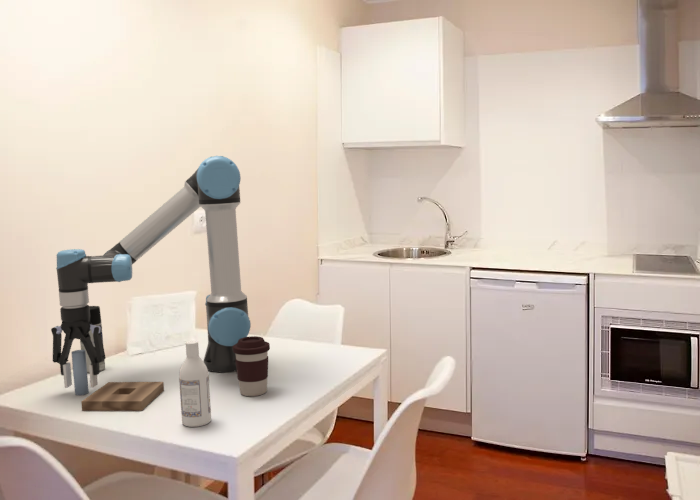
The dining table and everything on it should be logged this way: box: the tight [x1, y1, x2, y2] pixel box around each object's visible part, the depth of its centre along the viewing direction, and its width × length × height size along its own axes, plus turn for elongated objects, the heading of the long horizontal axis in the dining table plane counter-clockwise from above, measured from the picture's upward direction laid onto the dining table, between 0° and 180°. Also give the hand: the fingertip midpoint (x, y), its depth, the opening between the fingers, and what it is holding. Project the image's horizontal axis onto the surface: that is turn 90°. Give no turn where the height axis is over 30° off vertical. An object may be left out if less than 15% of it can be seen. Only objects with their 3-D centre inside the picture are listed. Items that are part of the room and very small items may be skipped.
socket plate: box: [80, 381, 165, 412], centre depth 183 cm, size 16×16×2 cm
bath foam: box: [178, 340, 212, 428], centre depth 164 cm, size 7×7×20 cm
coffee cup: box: [233, 335, 271, 397], centre depth 185 cm, size 10×10×15 cm
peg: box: [71, 349, 90, 396], centre depth 190 cm, size 4×4×12 cm
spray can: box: [79, 305, 106, 374], centre depth 211 cm, size 7×7×20 cm
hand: (81, 386), depth 190 cm, fingers open, 7 cm apart
